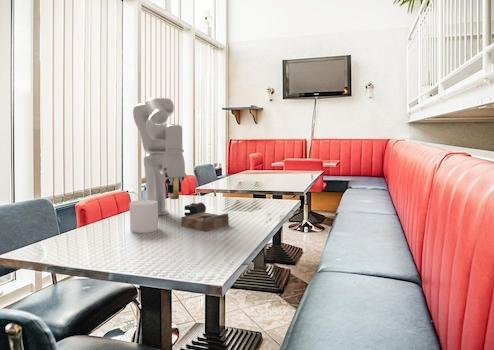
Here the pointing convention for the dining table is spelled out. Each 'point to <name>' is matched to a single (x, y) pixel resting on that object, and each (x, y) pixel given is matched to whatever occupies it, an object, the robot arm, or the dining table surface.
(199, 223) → the jig
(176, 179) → the gold peg
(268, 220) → the dining table surface
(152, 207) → the cup
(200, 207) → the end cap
